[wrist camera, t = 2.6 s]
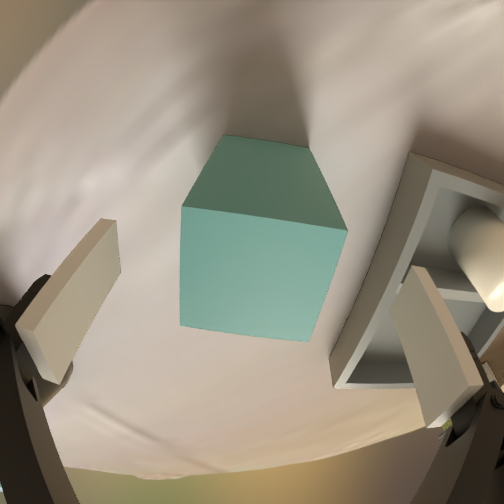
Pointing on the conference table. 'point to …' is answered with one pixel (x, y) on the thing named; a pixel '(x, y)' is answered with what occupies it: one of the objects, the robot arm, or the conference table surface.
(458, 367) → the robot arm
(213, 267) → the teal carton
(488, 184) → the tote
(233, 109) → the conference table surface
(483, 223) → the cream rounded capsule
